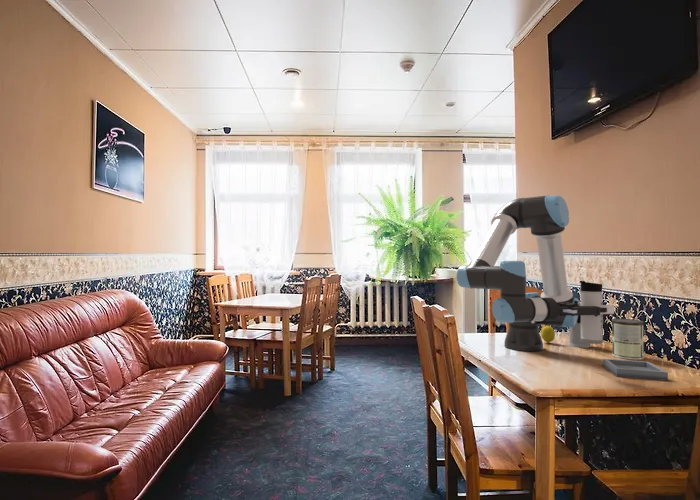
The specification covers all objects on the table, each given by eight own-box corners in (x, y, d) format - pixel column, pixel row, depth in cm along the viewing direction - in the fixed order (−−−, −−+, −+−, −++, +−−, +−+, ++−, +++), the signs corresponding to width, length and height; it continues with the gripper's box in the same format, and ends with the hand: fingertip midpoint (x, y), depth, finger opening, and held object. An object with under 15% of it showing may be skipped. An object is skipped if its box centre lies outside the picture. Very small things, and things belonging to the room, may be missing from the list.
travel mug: (575, 339, 139) (575, 280, 139) (595, 340, 139) (595, 280, 139) (585, 343, 133) (585, 281, 133) (606, 344, 133) (606, 281, 133)
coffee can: (606, 353, 167) (606, 318, 167) (634, 354, 166) (633, 318, 166) (620, 359, 156) (620, 321, 157) (650, 360, 155) (649, 322, 156)
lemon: (544, 341, 190) (544, 323, 190) (556, 343, 186) (556, 325, 186) (539, 343, 186) (539, 325, 186) (552, 344, 182) (552, 326, 182)
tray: (616, 376, 133) (616, 368, 133) (602, 365, 146) (602, 358, 146) (667, 380, 129) (667, 372, 129) (648, 369, 143) (648, 361, 143)
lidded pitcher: (564, 343, 186) (564, 309, 186) (598, 344, 185) (598, 310, 185) (573, 347, 177) (573, 312, 178) (608, 348, 176) (608, 313, 176)
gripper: (523, 316, 142) (583, 315, 146) (561, 326, 123) (628, 324, 127) (523, 294, 143) (583, 293, 146) (560, 301, 124) (628, 299, 127)
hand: (604, 308), depth 137 cm, fingers closed on travel mug, 6 cm apart
